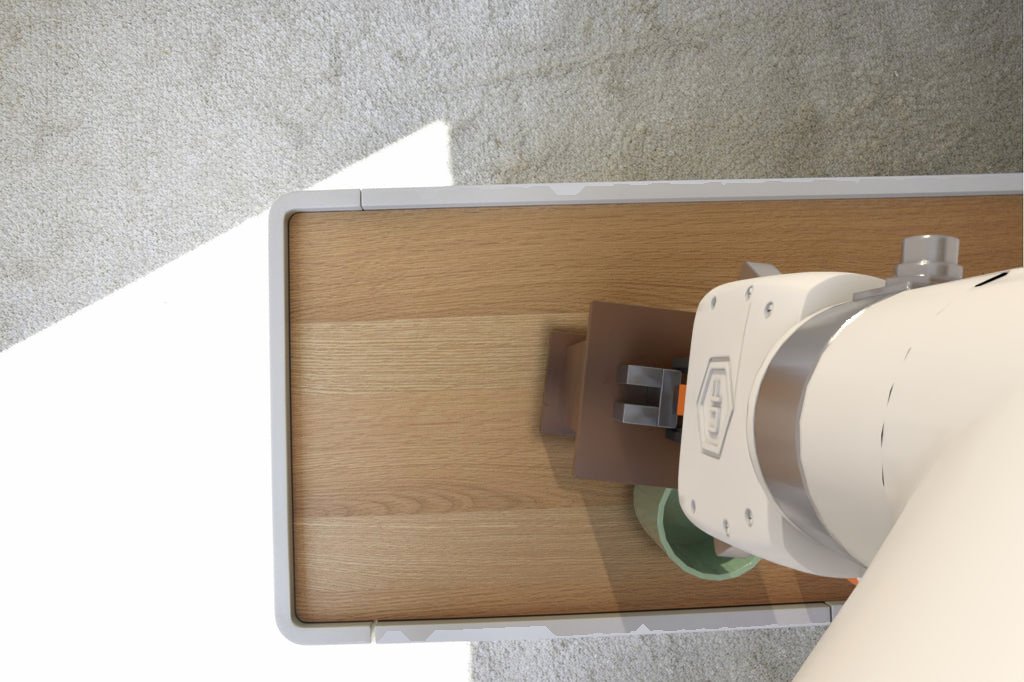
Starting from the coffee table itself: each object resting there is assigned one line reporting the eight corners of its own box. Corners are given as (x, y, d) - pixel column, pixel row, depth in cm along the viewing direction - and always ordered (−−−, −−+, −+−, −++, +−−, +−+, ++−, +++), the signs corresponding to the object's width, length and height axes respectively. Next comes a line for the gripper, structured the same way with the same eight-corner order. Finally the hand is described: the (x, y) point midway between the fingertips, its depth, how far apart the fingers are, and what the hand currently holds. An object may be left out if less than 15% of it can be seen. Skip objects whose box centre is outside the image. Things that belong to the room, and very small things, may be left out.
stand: (638, 442, 66) (750, 497, 37) (539, 430, 65) (573, 477, 36) (648, 342, 66) (767, 320, 37) (550, 331, 66) (592, 299, 37)
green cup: (727, 553, 65) (769, 586, 55) (628, 542, 65) (651, 573, 55) (736, 453, 66) (780, 467, 56) (638, 442, 66) (663, 454, 56)
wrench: (730, 378, 37) (751, 378, 34) (725, 431, 37) (745, 436, 34) (617, 365, 37) (628, 364, 34) (612, 418, 37) (622, 422, 34)
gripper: (793, 120, 18) (643, 247, 36) (737, 725, 17) (613, 543, 36) (1059, 153, 18) (776, 262, 37) (1015, 754, 17) (749, 558, 36)
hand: (697, 401), depth 36 cm, fingers open, 3 cm apart
